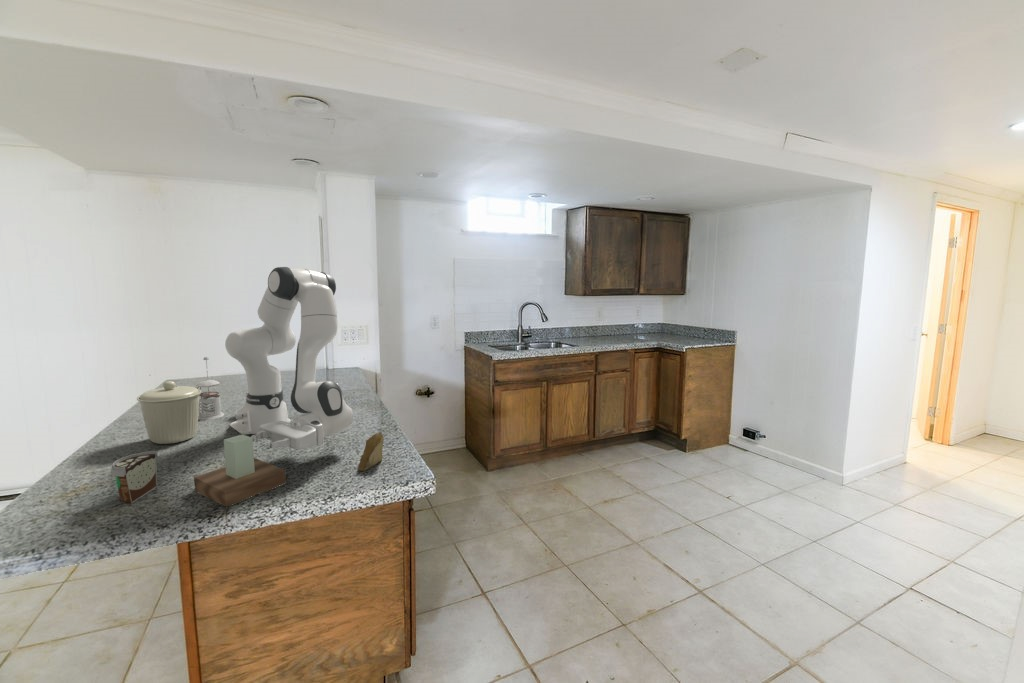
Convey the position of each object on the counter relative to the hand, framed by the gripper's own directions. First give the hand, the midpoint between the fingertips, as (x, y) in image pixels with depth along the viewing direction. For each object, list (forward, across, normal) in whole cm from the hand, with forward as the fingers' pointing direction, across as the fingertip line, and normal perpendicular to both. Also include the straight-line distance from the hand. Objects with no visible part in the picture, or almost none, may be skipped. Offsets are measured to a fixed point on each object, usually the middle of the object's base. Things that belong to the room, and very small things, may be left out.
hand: (261, 442), depth 128 cm
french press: (-20, -76, +11) cm, 79 cm away
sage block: (+6, 0, +7) cm, 9 cm away
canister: (0, -57, +11) cm, 58 cm away
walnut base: (+6, 0, +11) cm, 13 cm away
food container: (+24, -19, +11) cm, 33 cm away
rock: (-24, +17, +11) cm, 31 cm away
